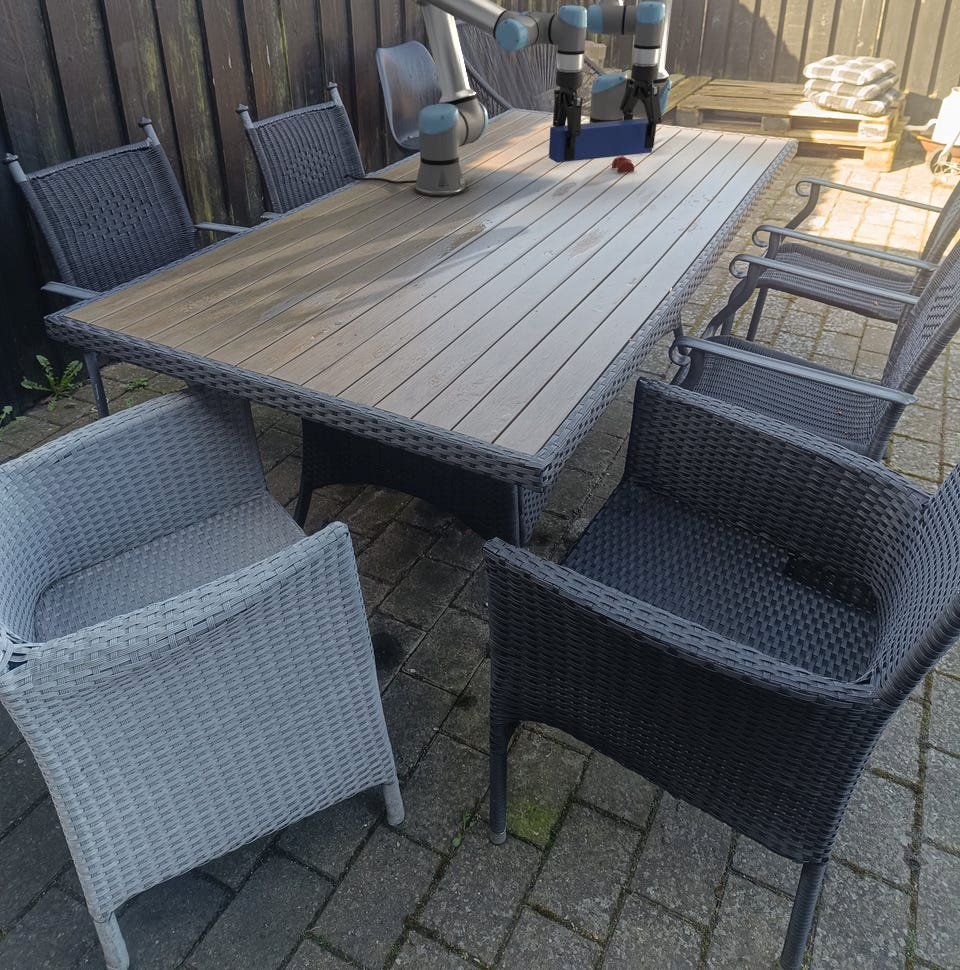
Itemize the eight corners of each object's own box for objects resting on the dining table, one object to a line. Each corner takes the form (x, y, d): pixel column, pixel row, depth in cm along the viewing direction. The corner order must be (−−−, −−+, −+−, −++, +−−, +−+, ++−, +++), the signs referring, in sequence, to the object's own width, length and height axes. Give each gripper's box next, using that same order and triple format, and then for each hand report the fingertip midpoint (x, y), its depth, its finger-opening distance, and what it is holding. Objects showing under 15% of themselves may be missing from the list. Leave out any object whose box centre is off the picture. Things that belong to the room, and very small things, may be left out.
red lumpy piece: (626, 152, 277) (636, 159, 270) (626, 166, 279) (635, 172, 273) (610, 154, 276) (620, 161, 269) (610, 167, 278) (619, 174, 272)
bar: (557, 162, 244) (558, 131, 239) (548, 157, 248) (550, 126, 243) (651, 152, 253) (655, 122, 248) (642, 148, 258) (645, 117, 252)
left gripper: (597, 75, 227) (590, 163, 241) (567, 63, 241) (562, 147, 255) (572, 76, 225) (567, 166, 239) (543, 65, 239) (539, 150, 253)
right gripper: (680, 70, 232) (670, 151, 244) (635, 56, 251) (627, 131, 263) (656, 72, 230) (647, 153, 242) (612, 58, 249) (606, 134, 261)
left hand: (564, 156), depth 247 cm, fingers closed on bar, 6 cm apart
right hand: (637, 142), depth 253 cm, fingers open, 13 cm apart
